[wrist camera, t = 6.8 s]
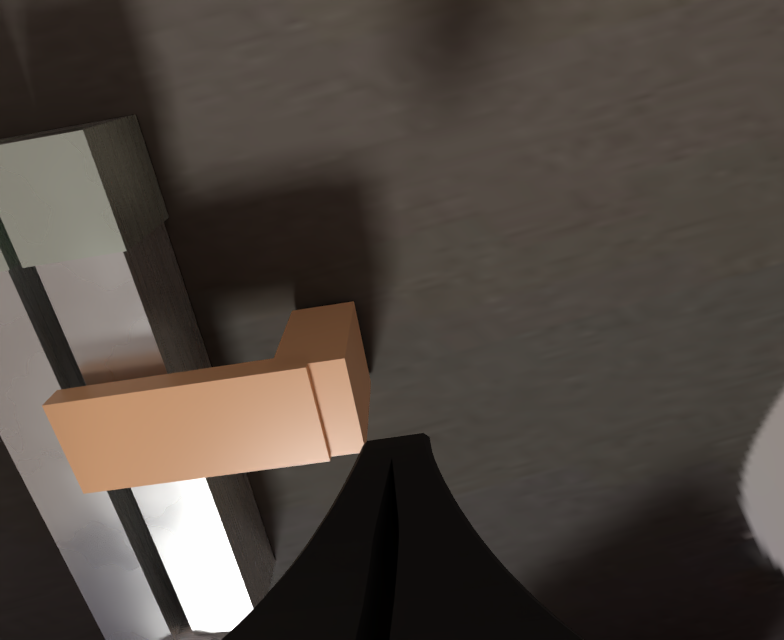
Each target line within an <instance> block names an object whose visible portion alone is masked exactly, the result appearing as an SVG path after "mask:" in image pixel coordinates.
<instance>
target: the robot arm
mask: <svg viewBox="0 0 784 640" xmlns="http://www.w3.org/2000/svg"><path fill="white" fill-rule="evenodd" d="M221 640H584V639H583V638H581V637H580V636H579V635H578V634H576V633H575V632H574V631H573V630H571V629H570V628H569V627H568V626H566V625H565V624H564V623H563V622H561V621H560V620H559V619H558V618H557V617H556V616H555V615H553V614H552V613H551V612H550V611H549V610H548V609H547V608H546V607H544V606H543V605H542V604H541V603H540V602H539V601H538V600H537V599H536V598H535V597H534V596H533V595H532V594H531V593H530V592H529V591H528V590H527V589H526V588H525V587H524V586H523V585H522V584H521V583H520V582H519V581H518V580H517V579H516V578H515V577H514V576H513V575H512V574H511V573H510V572H509V571H508V570H507V569H506V568H505V567H504V565H503V564H502V563H501V562H500V561H499V560H498V559H497V557H496V556H495V555H494V554H493V553H492V551H491V550H490V549H489V548H488V546H487V545H486V544H485V543H484V541H483V540H482V539H481V538H480V536H479V535H478V534H477V532H476V531H475V529H474V528H473V527H472V525H471V524H470V522H469V521H468V519H467V518H466V516H465V515H464V513H463V512H462V510H461V509H460V507H459V506H458V504H457V502H456V501H455V499H454V497H453V495H452V494H451V492H450V490H449V488H448V486H447V485H446V483H445V481H444V479H443V477H442V475H441V473H440V471H439V468H438V466H437V464H436V461H435V459H434V456H433V453H432V449H431V443H430V438H429V437H428V436H427V435H425V434H424V433H421V434H414V435H407V436H399V437H392V438H385V439H378V440H371V441H366V443H365V444H364V445H363V446H362V449H361V451H360V453H359V455H358V457H357V460H356V462H355V464H354V466H353V468H352V470H351V472H350V474H349V476H348V478H347V480H346V482H345V483H344V485H343V487H342V489H341V491H340V492H339V494H338V496H337V498H336V499H335V501H334V503H333V505H332V506H331V508H330V510H329V512H328V513H327V515H326V516H325V518H324V519H323V521H322V522H321V524H320V525H319V527H318V529H317V530H316V532H315V533H314V535H313V536H312V538H311V539H310V541H309V542H308V544H307V545H306V546H305V548H304V549H303V551H302V552H301V553H300V555H299V556H298V557H297V559H296V560H295V561H294V563H293V564H292V565H291V566H290V568H289V569H288V570H287V571H286V573H285V574H284V575H283V576H282V578H281V579H280V580H279V581H278V582H277V583H276V584H275V586H274V587H273V588H272V589H271V590H270V591H269V592H268V594H267V595H266V596H265V597H264V598H263V599H262V600H261V601H260V602H259V603H258V604H257V605H256V607H255V608H254V609H253V610H252V611H251V612H250V613H249V614H248V615H247V616H246V617H245V618H244V619H243V620H242V621H241V622H240V623H239V624H238V625H236V626H235V627H234V628H233V629H232V630H231V631H230V632H229V633H228V634H227V635H226V636H225V637H224V638H222V639H221Z"/></svg>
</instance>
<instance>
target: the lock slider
mask: <svg viewBox="0 0 784 640" xmlns="http://www.w3.org/2000/svg"><path fill="white" fill-rule="evenodd" d="M370 388H371V381H370V376H369V371H368V366H367V362H366V357H365V352H364V347H363V342H362V338H361V333H360V328H359V323H358V318H357V314H356V309H355V304H354V301H353V302H346V303H339V304H333V305H326V306H320V307H313V308H307V309H300V310H293V311H292V312H291V315H290V317H289V320H288V323H287V325H286V328H285V330H284V333H283V336H282V338H281V341H280V344H279V346H278V349H277V351H276V354H275V357H274V358H273V359H266V360H259V361H252V362H245V363H238V364H232V365H225V366H218V367H211V368H204V369H197V370H191V371H184V372H177V373H170V374H163V375H156V376H150V377H143V378H136V379H129V380H122V381H115V382H109V383H102V384H95V385H88V386H81V387H74V388H68V389H61V390H56V392H55V393H54V394H53V395H52V396H51V397H50V398H49V399H48V400H47V401H46V402H45V403H44V404H43V405H42V407H43V409H44V411H45V414H46V416H47V418H48V420H49V422H50V424H51V426H52V428H53V430H54V433H55V435H56V437H57V439H58V441H59V443H60V445H61V447H62V449H63V452H64V454H65V456H66V458H67V460H68V462H69V464H70V466H71V468H72V471H73V473H74V475H75V477H76V479H77V481H78V483H79V485H80V487H81V490H82V492H83V494H86V493H94V492H101V491H109V490H116V489H124V488H131V487H139V486H146V485H154V484H162V483H169V482H177V481H184V480H192V479H199V478H207V477H214V476H222V475H229V474H237V473H245V472H252V471H260V470H267V469H275V468H282V467H290V466H297V465H305V464H312V463H320V462H328V461H330V458H331V457H332V456H340V455H347V454H355V453H360V451H361V449H362V446H363V445H364V444H365V443H366V441H367V429H368V415H369V402H370Z"/></svg>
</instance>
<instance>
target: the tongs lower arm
mask: <svg viewBox="0 0 784 640" xmlns="http://www.w3.org/2000/svg"><path fill="white" fill-rule="evenodd" d="M0 218H1V220H2V222H3V224H4V227H5V229H6V231H7V233H8V236H9V238H10V240H11V243H12V245H13V247H14V249H15V252H16V254H17V256H18V258H19V261H20V263H21V265H22V268H26V267H32V266H35V267H36V269H37V272H38V274H39V276H40V279H41V281H42V283H43V286H44V288H45V290H46V293H47V295H48V297H49V300H50V302H51V304H52V307H53V309H54V311H55V314H56V316H57V318H58V321H59V323H60V325H61V327H62V330H63V332H64V334H65V337H66V339H67V341H68V344H69V346H70V348H71V351H72V353H73V355H74V358H75V360H76V362H77V365H78V367H79V369H80V372H81V374H82V376H83V378H84V381H85V383H86V385H87V386H88V385H95V384H102V383H109V382H115V381H122V380H129V379H136V378H143V377H150V376H156V375H163V374H170V373H177V372H184V371H191V370H197V369H204V368H211V364H210V361H209V358H208V355H207V352H206V349H205V346H204V343H203V340H202V337H201V333H200V330H199V327H198V324H197V321H196V318H195V315H194V312H193V309H192V306H191V303H190V300H189V297H188V294H187V291H186V288H185V285H184V282H183V279H182V276H181V273H180V270H179V267H178V264H177V261H176V257H175V254H174V251H173V248H172V245H171V242H170V239H169V236H168V233H167V230H166V227H165V224H164V221H166V220H167V219H168V218H169V216H168V213H167V210H166V206H165V203H164V200H163V197H162V194H161V191H160V188H159V185H158V182H157V179H156V176H155V173H154V169H153V166H152V163H151V160H150V157H149V154H148V151H147V148H146V145H145V142H144V139H143V136H142V132H141V129H140V126H139V123H138V120H137V117H136V115H131V116H125V117H119V118H114V119H108V120H103V121H97V122H92V123H86V124H81V125H75V126H69V127H64V128H58V129H53V130H47V131H42V132H38V133H34V134H30V135H26V136H23V137H19V138H15V139H11V140H7V141H3V142H0ZM131 490H132V492H133V494H134V497H135V499H136V501H137V504H138V506H139V508H140V511H141V513H142V515H143V518H144V520H145V522H146V525H147V527H148V529H149V532H150V534H151V536H152V539H153V541H154V543H155V545H156V548H157V550H158V552H159V555H160V557H161V559H162V562H163V564H164V566H165V569H166V571H167V573H168V576H169V578H170V580H171V583H172V585H173V587H174V590H175V592H176V594H177V597H178V599H179V601H180V603H181V606H182V608H183V610H184V613H185V615H186V617H187V620H188V622H189V624H190V627H191V629H192V631H193V634H194V635H197V634H206V633H215V632H224V631H231V630H232V629H233V628H234V627H235V626H236V625H238V624H239V623H240V622H241V621H242V620H243V619H244V618H245V617H246V616H247V615H248V614H249V613H250V612H251V611H252V610H253V609H254V608H255V607H256V605H257V604H258V603H259V602H260V601H261V600H262V599H263V598H264V597H265V596H266V595H267V594H268V591H269V587H270V582H271V578H272V574H273V569H274V565H275V558H274V555H273V552H272V549H271V546H270V543H269V540H268V537H267V534H266V531H265V528H264V525H263V522H262V519H261V516H260V513H259V510H258V507H257V504H256V501H255V498H254V495H253V492H252V489H251V486H250V482H249V479H248V476H247V473H246V472H245V473H237V474H229V475H222V476H214V477H207V478H199V479H192V480H184V481H177V482H169V483H162V484H154V485H146V486H139V487H131Z"/></svg>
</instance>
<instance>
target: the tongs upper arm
mask: <svg viewBox="0 0 784 640" xmlns="http://www.w3.org/2000/svg"><path fill="white" fill-rule="evenodd" d="M26 135H30V134H25V135H19V136H13V137H8V138H2V139H0V142H3V141H7V140H11V139H15V138H19V137H23V136H26ZM81 386H87V385H86V383H85V381H84V378H83V376H82V374H81V372H80V369H79V367H78V365H77V362H76V360H75V358H74V355H73V353H72V351H71V348H70V346H69V344H68V341H67V339H66V337H65V334H64V332H63V330H62V327H61V325H60V323H59V321H58V318H57V316H56V314H55V311H54V309H53V307H52V304H51V302H50V300H49V297H48V295H47V293H46V290H45V288H44V286H43V283H42V281H41V279H40V276H39V274H38V272H37V269H36V267H35V266H32V267H26V268H22V265H21V263H20V261H19V258H18V256H17V254H16V252H15V249H14V247H13V245H12V243H11V240H10V238H9V236H8V233H7V231H6V229H5V227H4V224H3V222H2V220H1V218H0V436H1V438H2V440H3V442H4V444H5V446H6V448H7V450H8V452H9V454H10V455H11V457H12V459H13V461H14V463H15V465H16V467H17V469H18V471H19V473H20V475H21V477H22V479H23V481H24V483H25V485H26V487H27V488H28V490H29V492H30V494H31V496H32V498H33V500H34V502H35V504H36V506H37V508H38V510H39V512H40V514H41V516H42V518H43V520H44V521H45V523H46V525H47V527H48V529H49V531H50V533H51V535H52V537H53V539H54V541H55V543H56V545H57V547H58V549H59V551H60V553H61V554H62V556H63V558H64V560H65V562H66V564H67V566H68V568H69V570H70V572H71V574H72V576H73V578H74V580H75V582H76V584H77V586H78V588H79V589H80V591H81V593H82V595H83V597H84V599H85V601H86V603H87V605H88V607H89V609H90V611H91V613H92V615H93V617H94V619H95V621H96V622H97V624H98V626H99V628H100V630H101V632H102V634H103V636H104V638H105V640H221V639H222V638H224V637H225V636H226V635H227V634H228V633H229V632H230V631H224V632H215V633H206V634H197V635H194V634H193V631H192V629H191V627H190V624H189V622H188V620H187V617H186V615H185V613H184V610H183V608H182V606H181V603H180V601H179V599H178V597H177V594H176V592H175V590H174V587H173V585H172V583H171V580H170V578H169V576H168V573H167V571H166V569H165V566H164V564H163V562H162V559H161V557H160V555H159V552H158V550H157V548H156V545H155V543H154V541H153V539H152V536H151V534H150V532H149V529H148V527H147V525H146V522H145V520H144V518H143V515H142V513H141V511H140V508H139V506H138V504H137V501H136V499H135V497H134V494H133V492H132V490H131V488H124V489H116V490H109V491H101V492H94V493H86V494H83V492H82V490H81V487H80V485H79V483H78V481H77V479H76V477H75V475H74V473H73V471H72V468H71V466H70V464H69V462H68V460H67V458H66V456H65V454H64V452H63V449H62V447H61V445H60V443H59V441H58V439H57V437H56V435H55V433H54V430H53V428H52V426H51V424H50V422H49V420H48V418H47V416H46V414H45V411H44V409H43V407H42V405H43V404H44V403H45V402H46V401H47V400H48V399H49V398H50V397H51V396H52V395H53V394H54V393H55V392H56V390H61V389H68V388H74V387H81Z"/></svg>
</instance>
